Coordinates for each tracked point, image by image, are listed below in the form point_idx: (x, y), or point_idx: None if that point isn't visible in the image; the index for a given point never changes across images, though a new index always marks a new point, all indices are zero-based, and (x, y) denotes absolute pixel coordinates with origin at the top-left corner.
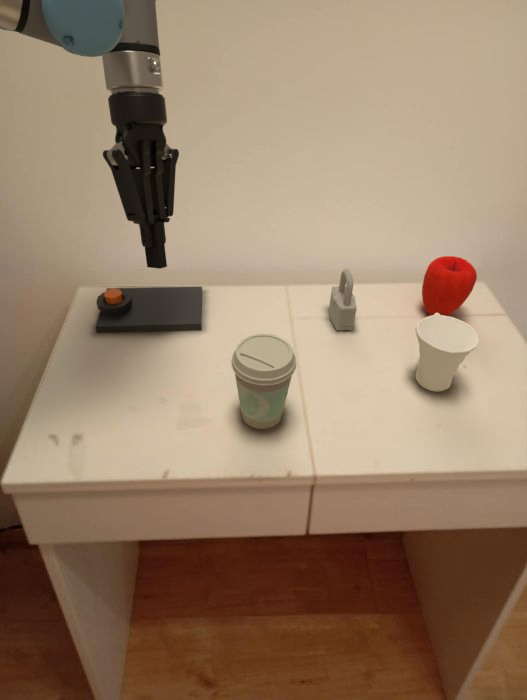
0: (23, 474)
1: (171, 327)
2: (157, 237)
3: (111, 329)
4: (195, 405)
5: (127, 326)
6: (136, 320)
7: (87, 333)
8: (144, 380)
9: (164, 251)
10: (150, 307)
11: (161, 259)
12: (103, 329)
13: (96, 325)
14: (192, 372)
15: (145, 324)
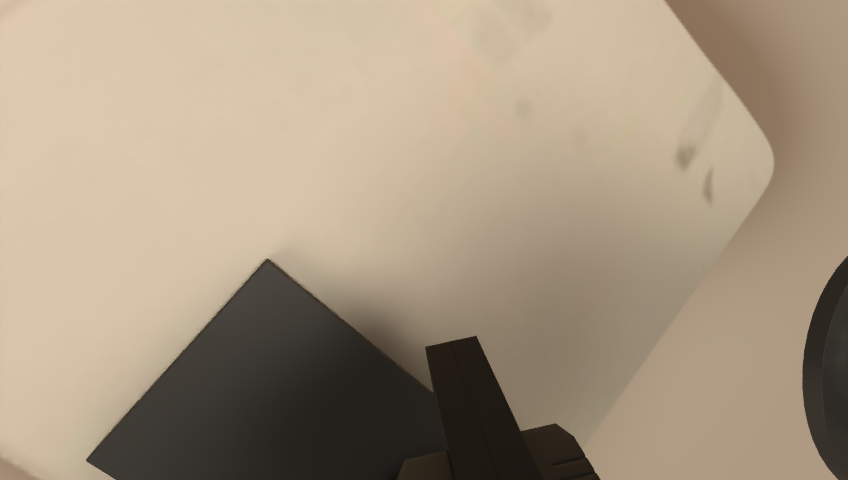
0: (766, 155)
1: (343, 321)
2: (522, 449)
3: None
4: (482, 36)
5: None
6: (411, 411)
7: None
8: (515, 196)
9: (444, 393)
10: (336, 449)
11: (468, 364)
12: None
13: None
14: (414, 129)
15: (403, 375)
